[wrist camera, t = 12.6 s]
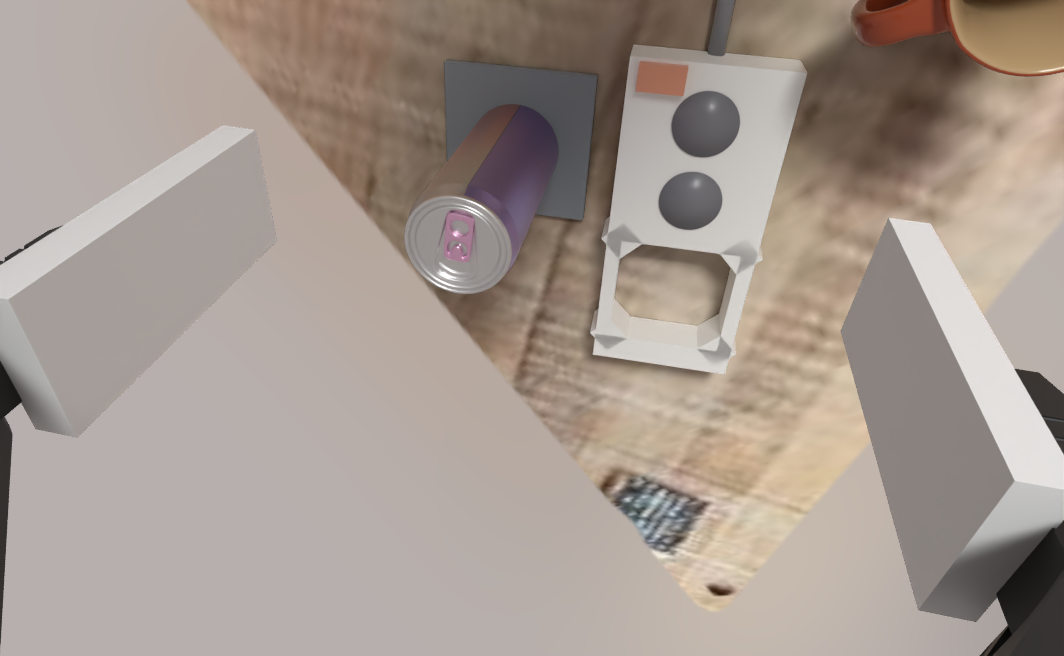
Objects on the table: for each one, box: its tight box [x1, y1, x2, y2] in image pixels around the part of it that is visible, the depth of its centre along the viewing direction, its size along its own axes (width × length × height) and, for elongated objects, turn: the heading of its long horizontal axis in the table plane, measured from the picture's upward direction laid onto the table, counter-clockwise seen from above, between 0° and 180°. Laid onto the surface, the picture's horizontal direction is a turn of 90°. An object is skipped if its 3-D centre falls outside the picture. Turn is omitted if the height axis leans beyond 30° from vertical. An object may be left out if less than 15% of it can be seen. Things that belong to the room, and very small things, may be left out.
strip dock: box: [590, 0, 807, 374], centre depth 44 cm, size 30×11×4 cm, turn 177°
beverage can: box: [404, 104, 559, 294], centre depth 40 cm, size 6×6×15 cm
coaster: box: [444, 60, 598, 220], centre depth 46 cm, size 10×10×1 cm
